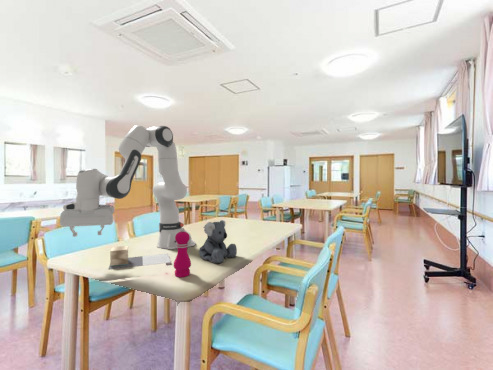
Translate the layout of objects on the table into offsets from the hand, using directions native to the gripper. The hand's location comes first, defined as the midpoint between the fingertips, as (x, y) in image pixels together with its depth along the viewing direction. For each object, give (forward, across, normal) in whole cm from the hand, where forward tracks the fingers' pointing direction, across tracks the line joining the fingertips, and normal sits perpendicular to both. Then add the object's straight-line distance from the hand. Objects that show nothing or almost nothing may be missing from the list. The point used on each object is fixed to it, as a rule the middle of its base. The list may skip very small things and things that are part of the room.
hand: (87, 235), depth 114 cm
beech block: (+14, -13, 0) cm, 19 cm away
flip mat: (+15, -22, 0) cm, 27 cm away
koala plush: (+15, -58, +5) cm, 60 cm away
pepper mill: (+15, -38, +22) cm, 47 cm away
